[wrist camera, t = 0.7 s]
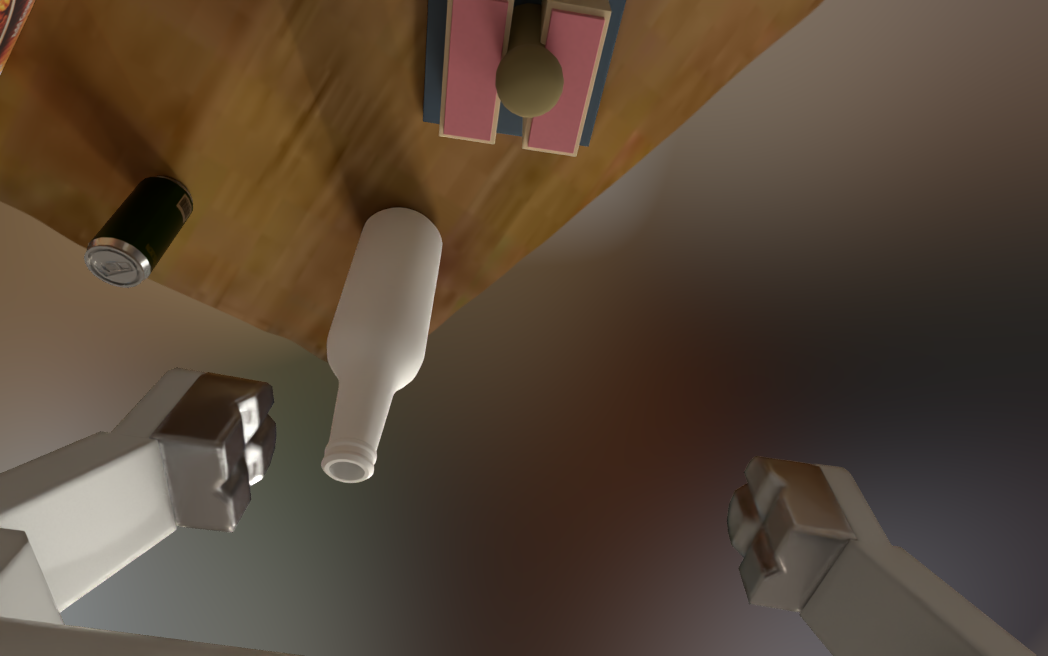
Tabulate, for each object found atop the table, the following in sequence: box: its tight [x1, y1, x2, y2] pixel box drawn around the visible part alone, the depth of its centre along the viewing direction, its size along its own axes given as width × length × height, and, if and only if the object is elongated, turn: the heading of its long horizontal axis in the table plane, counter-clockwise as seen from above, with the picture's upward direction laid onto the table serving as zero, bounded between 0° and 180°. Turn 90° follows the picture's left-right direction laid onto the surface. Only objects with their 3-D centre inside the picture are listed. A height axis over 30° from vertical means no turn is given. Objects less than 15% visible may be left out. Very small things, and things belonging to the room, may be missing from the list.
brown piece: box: [495, 3, 564, 118], centre depth 49 cm, size 6×6×11 cm
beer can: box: [84, 175, 193, 288], centre depth 60 cm, size 5×5×12 cm
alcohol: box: [321, 207, 442, 483], centre depth 57 cm, size 9×9×30 cm
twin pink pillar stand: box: [423, 0, 626, 157], centre depth 51 cm, size 16×16×8 cm
